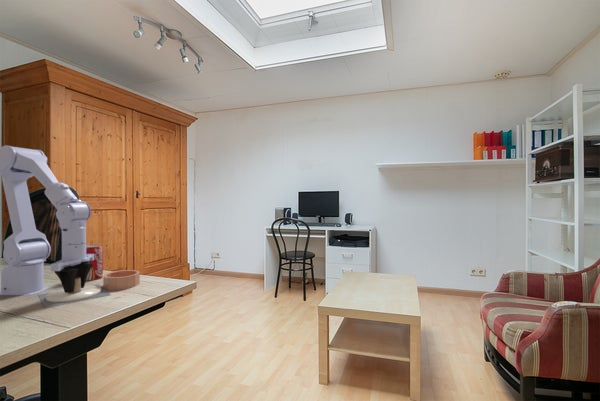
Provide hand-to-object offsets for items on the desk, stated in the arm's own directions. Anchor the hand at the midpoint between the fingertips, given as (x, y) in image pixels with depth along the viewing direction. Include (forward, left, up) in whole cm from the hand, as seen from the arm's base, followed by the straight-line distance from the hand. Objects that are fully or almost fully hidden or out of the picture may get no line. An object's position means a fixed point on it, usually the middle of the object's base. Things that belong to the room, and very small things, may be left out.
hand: (74, 290), depth 89 cm
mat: (0, 0, -2) cm, 2 cm away
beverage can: (-7, +18, -2) cm, 19 cm away
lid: (0, 0, -1) cm, 1 cm away
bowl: (+8, +10, -2) cm, 13 cm away
